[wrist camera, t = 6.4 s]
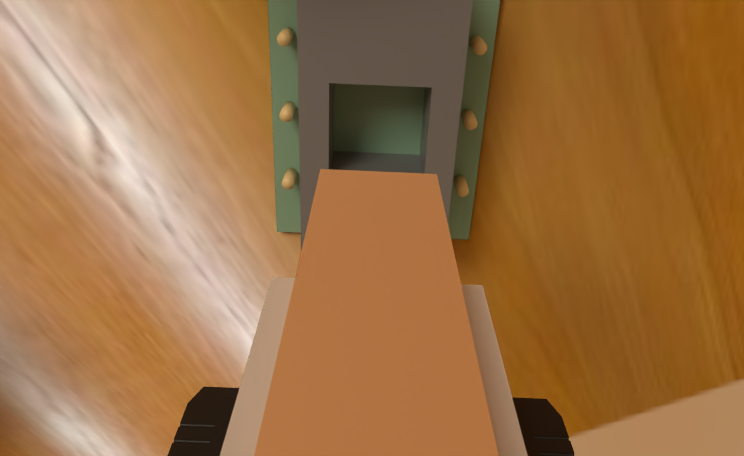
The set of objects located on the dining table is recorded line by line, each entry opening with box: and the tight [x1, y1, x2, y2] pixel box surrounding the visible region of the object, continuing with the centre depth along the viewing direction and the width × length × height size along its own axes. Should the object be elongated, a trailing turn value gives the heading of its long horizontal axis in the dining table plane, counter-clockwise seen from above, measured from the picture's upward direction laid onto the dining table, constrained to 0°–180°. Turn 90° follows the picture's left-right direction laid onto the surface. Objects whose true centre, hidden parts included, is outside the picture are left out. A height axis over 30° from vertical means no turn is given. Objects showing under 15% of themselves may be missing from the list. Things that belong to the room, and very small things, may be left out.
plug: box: [254, 169, 499, 456], centre depth 15 cm, size 4×4×14 cm
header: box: [268, 0, 500, 251], centre depth 32 cm, size 16×12×4 cm
